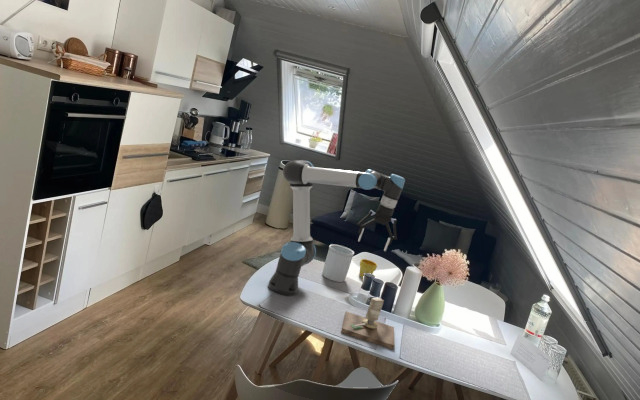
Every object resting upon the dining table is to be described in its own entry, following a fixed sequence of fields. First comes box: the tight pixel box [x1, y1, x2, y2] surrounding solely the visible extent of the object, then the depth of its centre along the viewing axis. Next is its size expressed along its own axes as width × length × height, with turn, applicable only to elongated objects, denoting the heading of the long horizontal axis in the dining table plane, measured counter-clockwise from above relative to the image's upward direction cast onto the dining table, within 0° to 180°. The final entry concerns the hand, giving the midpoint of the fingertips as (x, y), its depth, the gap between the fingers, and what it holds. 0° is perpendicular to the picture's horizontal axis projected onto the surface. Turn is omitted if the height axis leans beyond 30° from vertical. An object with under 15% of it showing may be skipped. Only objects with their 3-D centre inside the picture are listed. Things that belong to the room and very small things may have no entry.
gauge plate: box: [340, 311, 396, 350], centre depth 230 cm, size 24×20×2 cm
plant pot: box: [358, 258, 378, 279], centre depth 305 cm, size 10×10×10 cm
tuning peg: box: [354, 297, 385, 329], centre depth 228 cm, size 7×14×13 cm, turn 133°
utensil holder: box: [321, 243, 355, 283], centre depth 288 cm, size 15×15×18 cm
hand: (371, 245), depth 246 cm, fingers open, 13 cm apart
